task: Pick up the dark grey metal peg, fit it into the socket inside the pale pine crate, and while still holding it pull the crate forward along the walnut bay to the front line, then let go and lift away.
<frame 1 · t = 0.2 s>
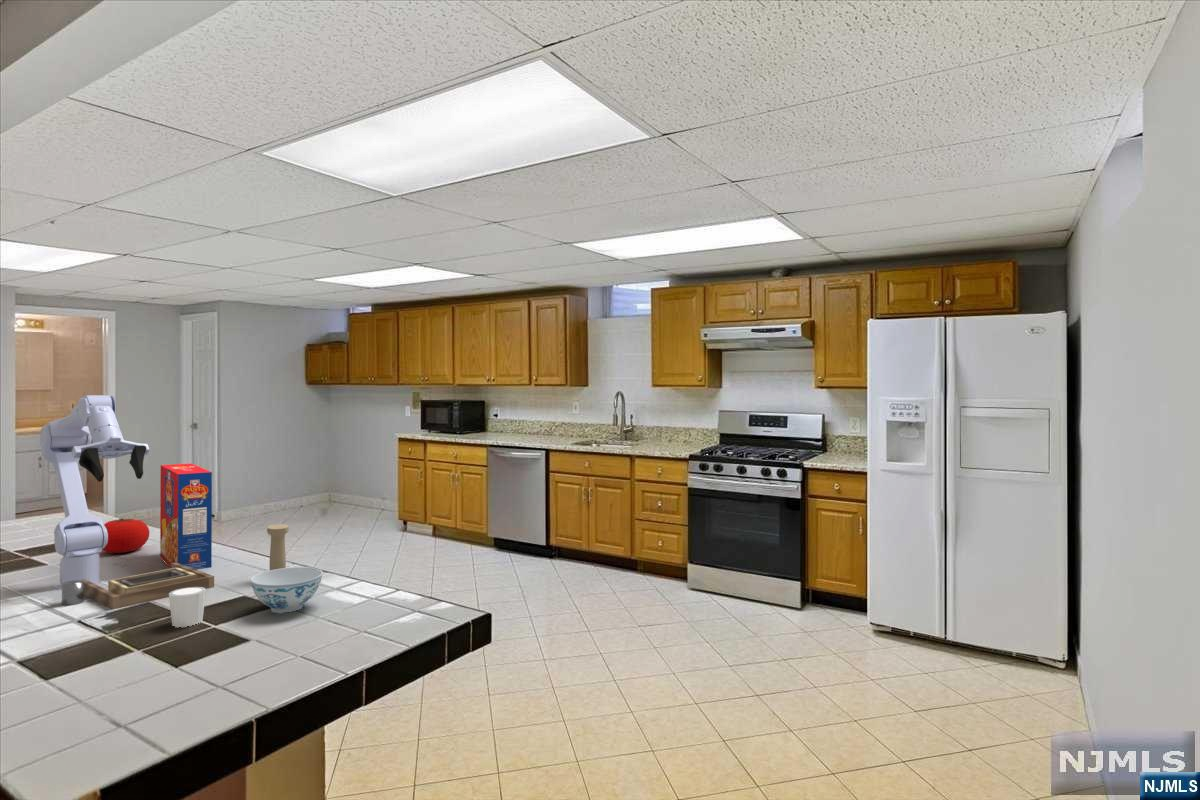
hand: (121, 477, 150), 31 cm above the worktop, tool tilted 45°, fingers open, 7 cm apart
chinaware: (287, 609, 153), on the worktop
bay: (147, 594, 163), on the worktop
white cylinder: (187, 623, 143), on the worktop
peg: (73, 608, 152), on the worktop
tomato: (123, 552, 205), on the worktop
pasta box: (184, 565, 191), on the worktop
crate: (153, 584, 161), point 3 cm above the worktop, slide at 0.0 cm
handle: (277, 584, 173), on the worktop
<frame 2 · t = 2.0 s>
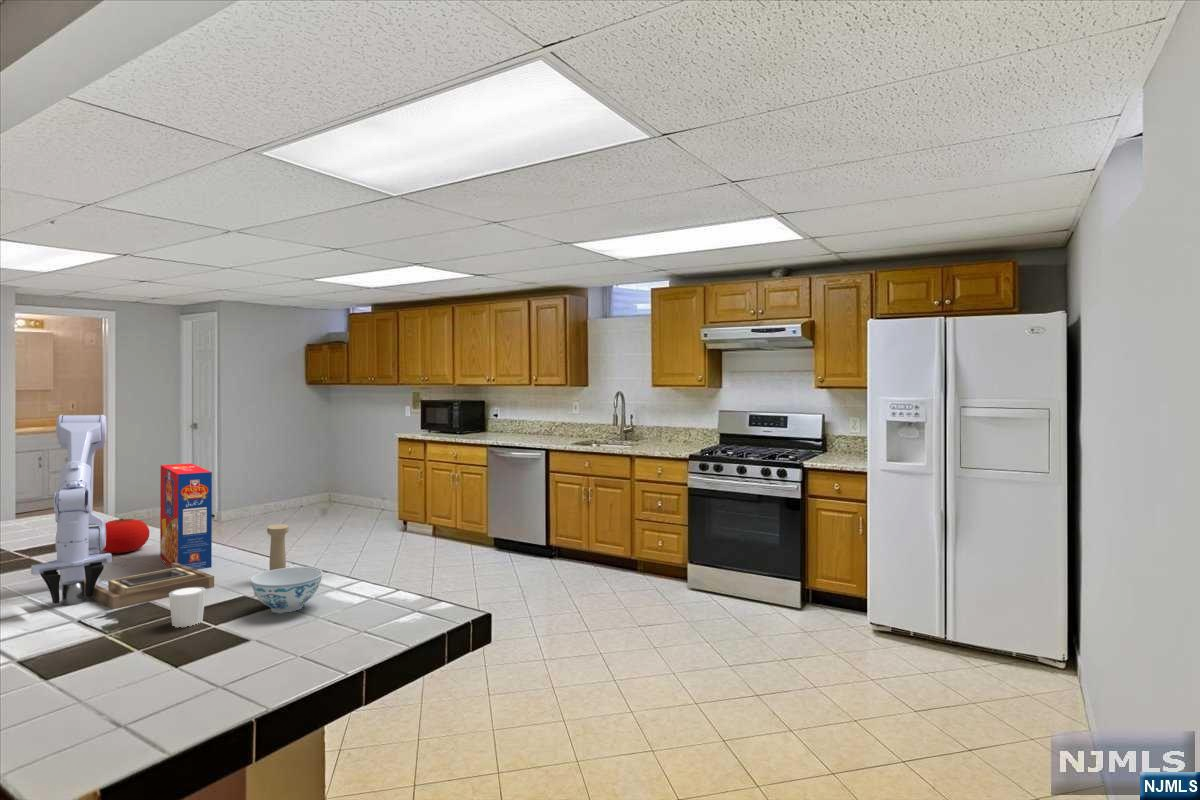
hand: (72, 599, 152), 2 cm above the worktop, tool pointing down, fingers open, 6 cm apart
nothing on the worktop moved.
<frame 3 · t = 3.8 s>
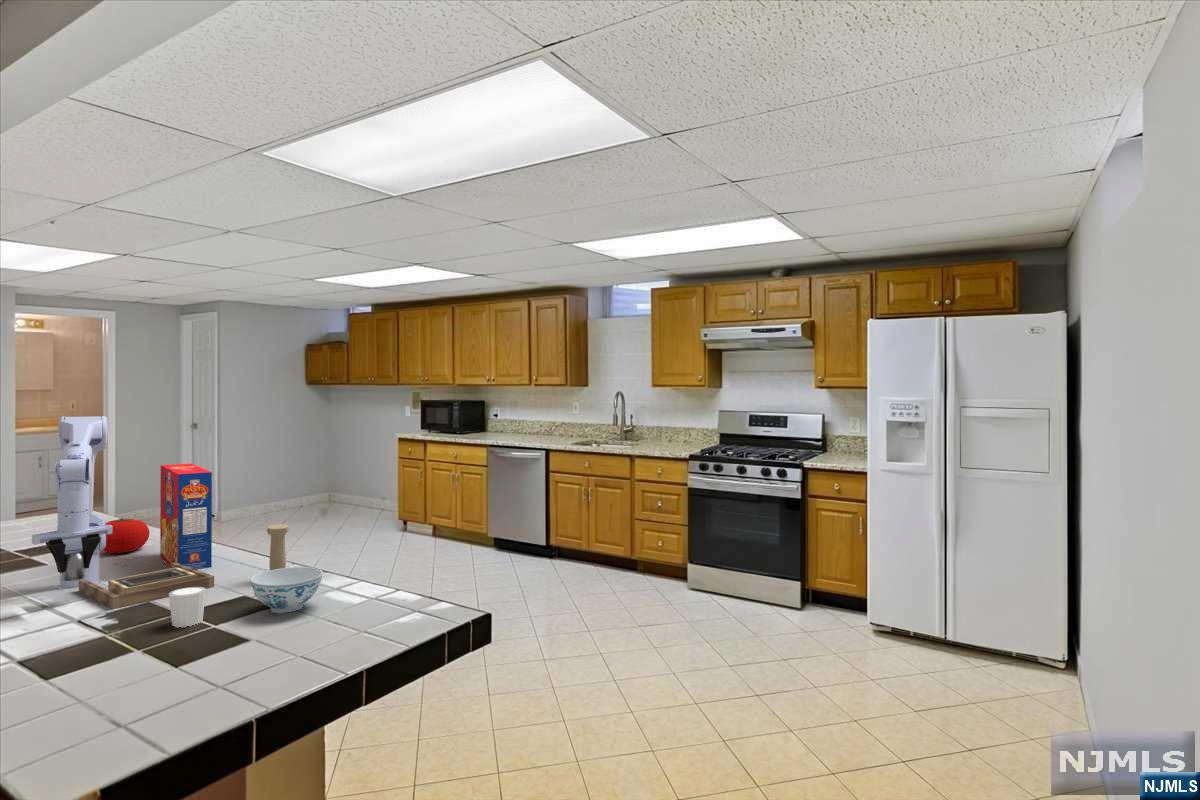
hand: (73, 569, 152), 9 cm above the worktop, tool pointing down, fingers closed on peg, 4 cm apart
peg: (73, 578, 152), point 7 cm above the worktop, touching gripper
everything else where it was.
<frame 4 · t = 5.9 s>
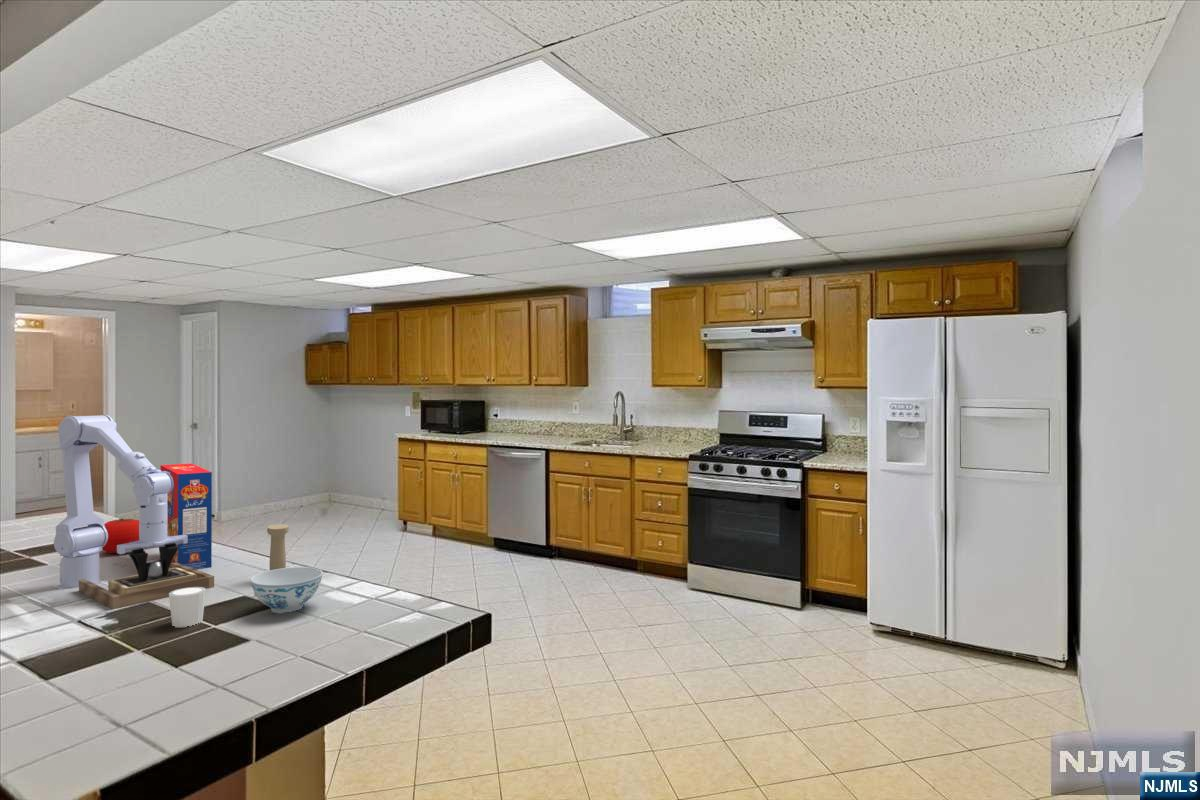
hand: (153, 577, 161), 5 cm above the worktop, tool pointing down, fingers closed on peg, 4 cm apart
peg: (153, 585, 161), point 3 cm above the worktop, touching gripper
everything else where it was.
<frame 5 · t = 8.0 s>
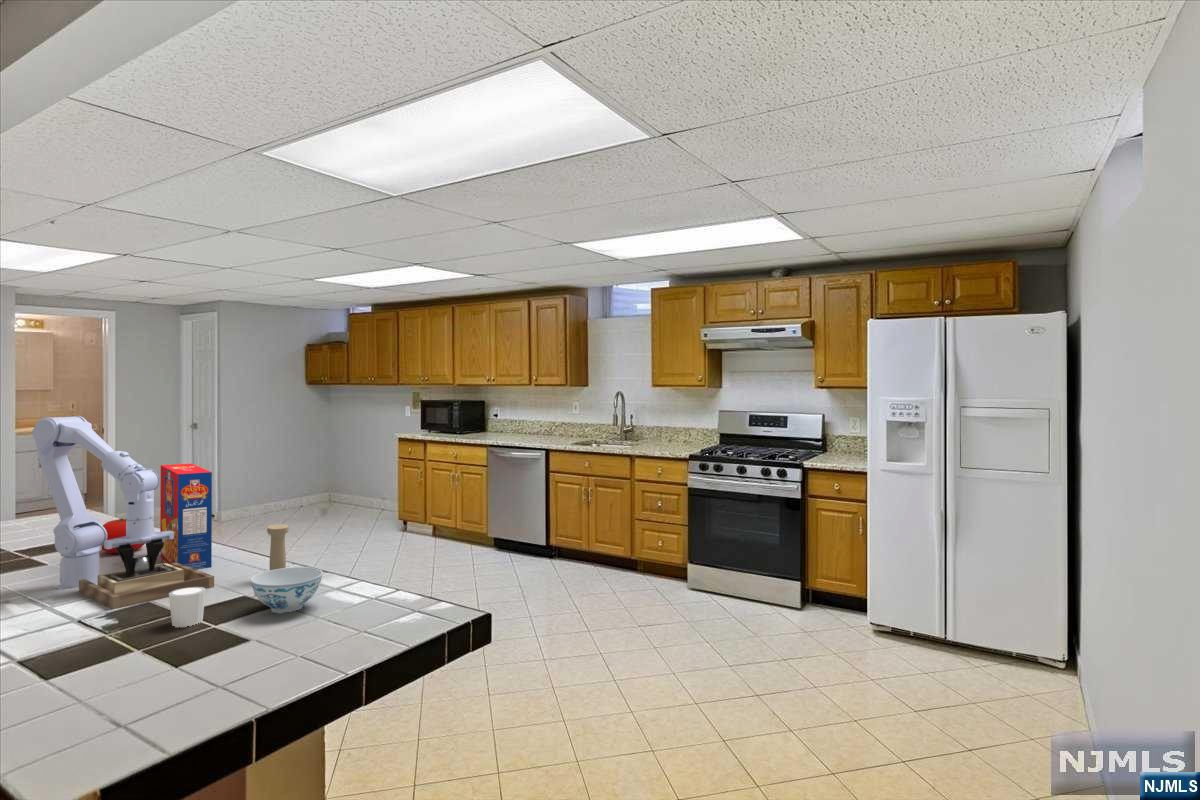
hand: (140, 572, 165), 5 cm above the worktop, tool pointing down, fingers closed on peg, 4 cm apart
peg: (140, 580, 165), point 3 cm above the worktop, touching crate, gripper
crate: (141, 579, 165), point 3 cm above the worktop, slide at 7.0 cm, touching peg
everything else where it was.
when the fingers open (5 cm above the worktop, at t = 9.2 s): peg stays where it is, resting on crate.
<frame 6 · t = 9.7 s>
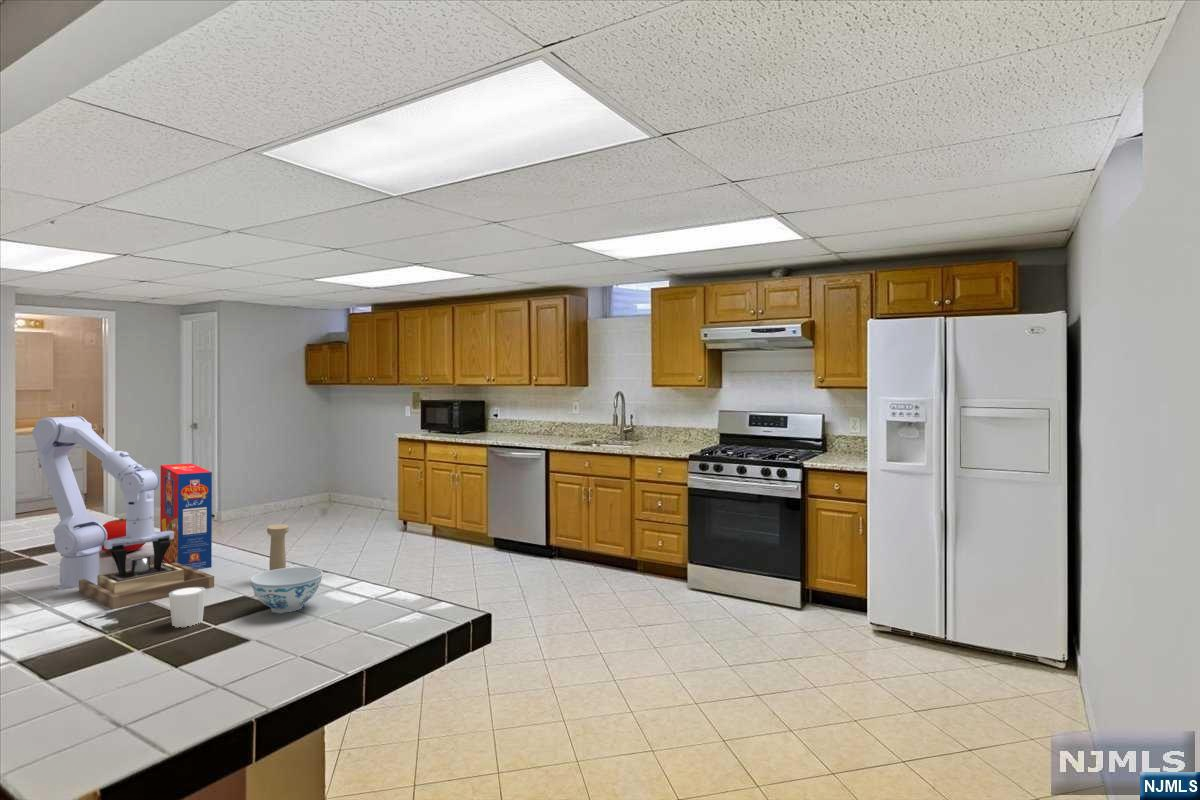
hand: (140, 572, 165), 5 cm above the worktop, tool pointing down, fingers open, 7 cm apart
peg: (140, 581, 165), point 2 cm above the worktop, touching crate
everything else where it was.
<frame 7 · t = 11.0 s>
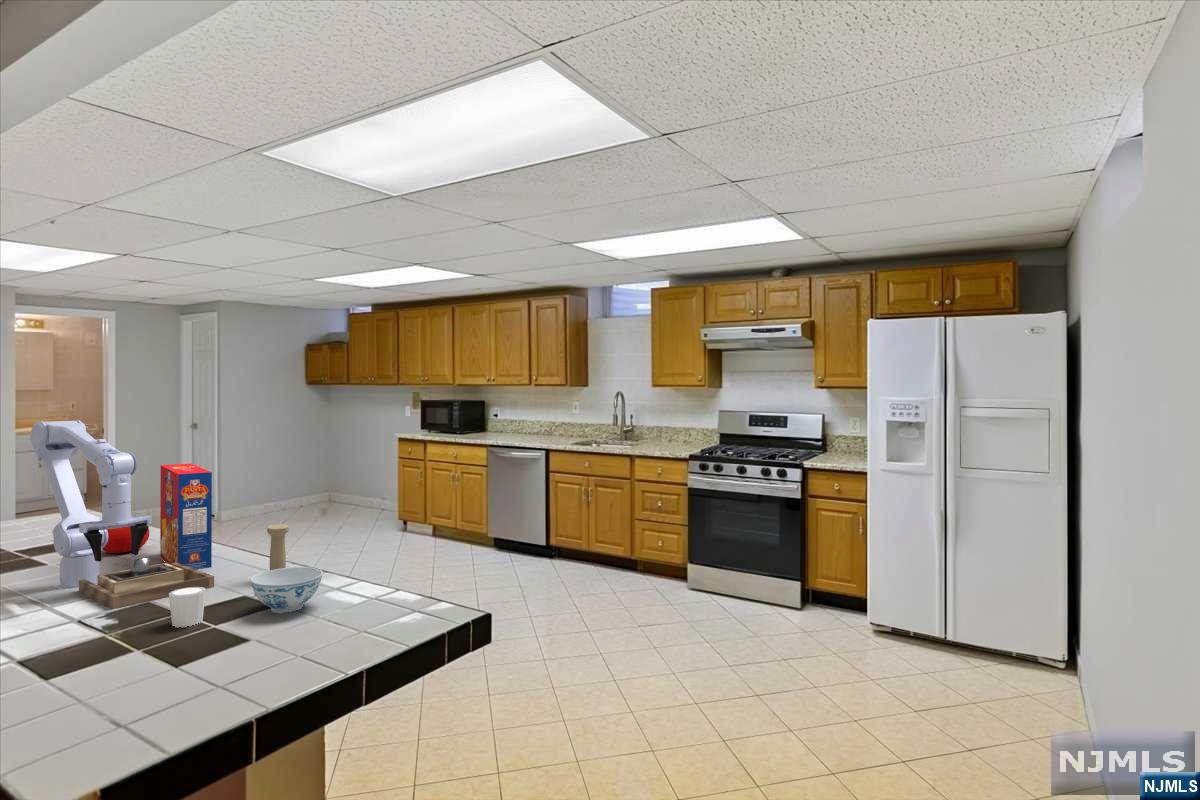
hand: (116, 557, 161), 9 cm above the worktop, tool pointing down, fingers open, 7 cm apart
nothing on the worktop moved.
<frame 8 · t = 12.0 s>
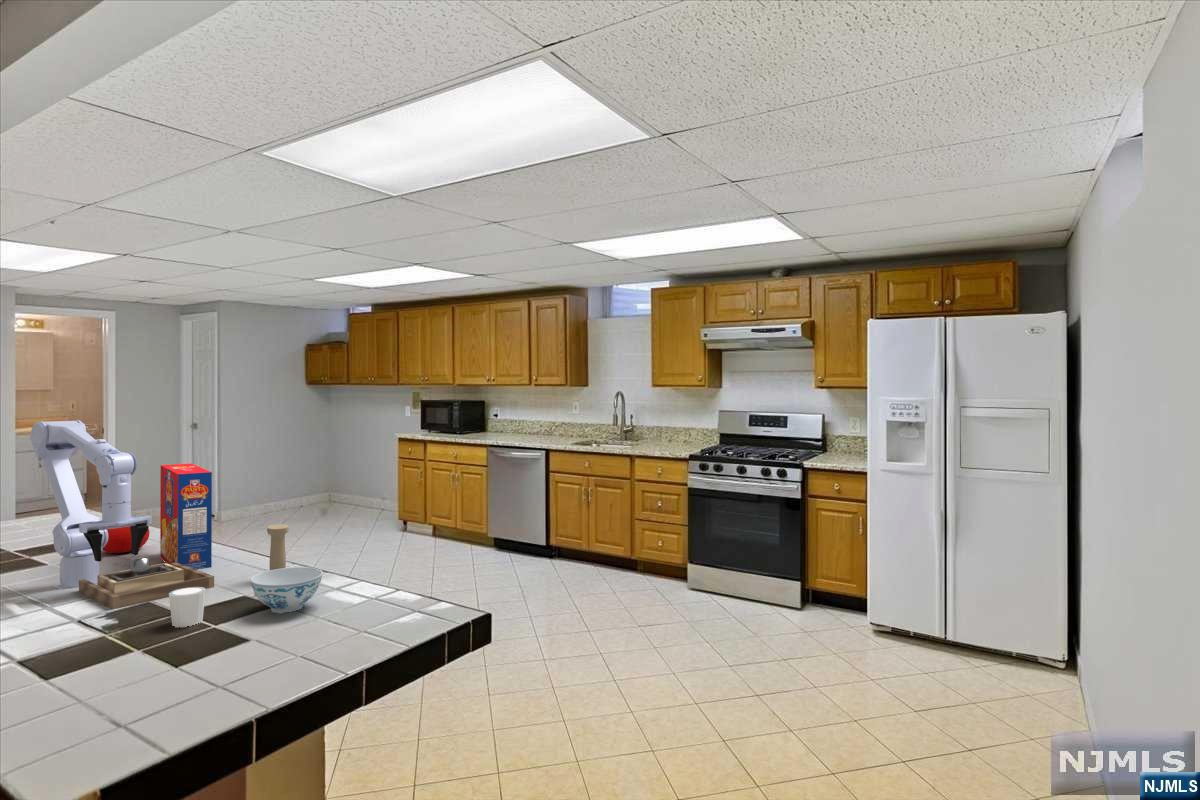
hand: (116, 557, 161), 9 cm above the worktop, tool pointing down, fingers open, 7 cm apart
nothing on the worktop moved.
at the end: crate slide at 7.1 cm; peg inside the target area on the crate (0.7 cm from its centre), point 1.0 cm above the crate's base; peg tilted 0° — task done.
